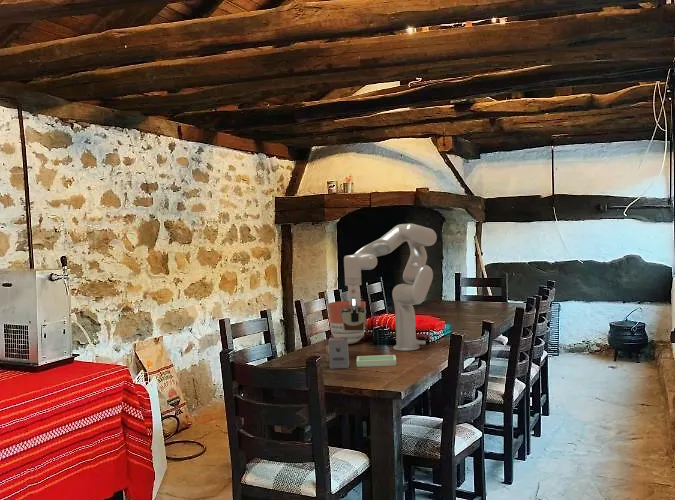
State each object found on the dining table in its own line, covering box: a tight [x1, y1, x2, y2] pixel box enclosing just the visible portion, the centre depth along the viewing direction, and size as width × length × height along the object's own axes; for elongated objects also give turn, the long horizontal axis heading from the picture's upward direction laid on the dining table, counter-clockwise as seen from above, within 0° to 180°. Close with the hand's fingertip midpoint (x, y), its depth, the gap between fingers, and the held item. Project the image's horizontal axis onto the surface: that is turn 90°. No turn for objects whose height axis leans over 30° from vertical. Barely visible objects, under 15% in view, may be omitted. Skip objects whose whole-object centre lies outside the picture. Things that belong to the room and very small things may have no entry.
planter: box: [328, 300, 367, 345], centre depth 321 cm, size 20×20×21 cm
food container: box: [340, 307, 367, 332], centre depth 281 cm, size 12×6×10 cm, turn 71°
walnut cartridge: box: [325, 344, 329, 363], centre depth 276 cm, size 5×5×7 cm
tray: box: [355, 354, 397, 368], centre depth 266 cm, size 17×11×2 cm, turn 87°
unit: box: [327, 336, 350, 370], centre depth 264 cm, size 8×9×12 cm
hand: (355, 320), depth 280 cm, fingers closed on food container, 6 cm apart
